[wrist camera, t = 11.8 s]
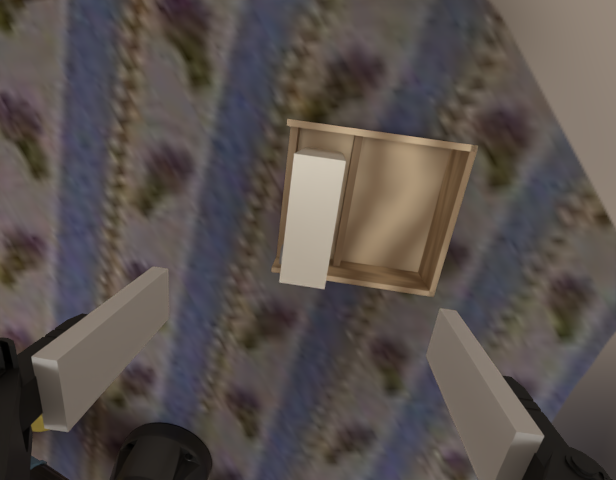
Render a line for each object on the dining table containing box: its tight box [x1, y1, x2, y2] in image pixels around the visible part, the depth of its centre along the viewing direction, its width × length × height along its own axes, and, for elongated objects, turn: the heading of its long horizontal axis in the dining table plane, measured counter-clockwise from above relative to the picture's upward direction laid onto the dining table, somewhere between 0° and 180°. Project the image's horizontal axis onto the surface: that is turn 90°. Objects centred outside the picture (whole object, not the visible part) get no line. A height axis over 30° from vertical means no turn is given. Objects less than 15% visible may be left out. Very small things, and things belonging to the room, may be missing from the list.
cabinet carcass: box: [271, 119, 478, 297], centre depth 36 cm, size 18×16×6 cm
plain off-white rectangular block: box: [279, 147, 346, 289], centre depth 32 cm, size 4×11×12 cm, turn 173°
